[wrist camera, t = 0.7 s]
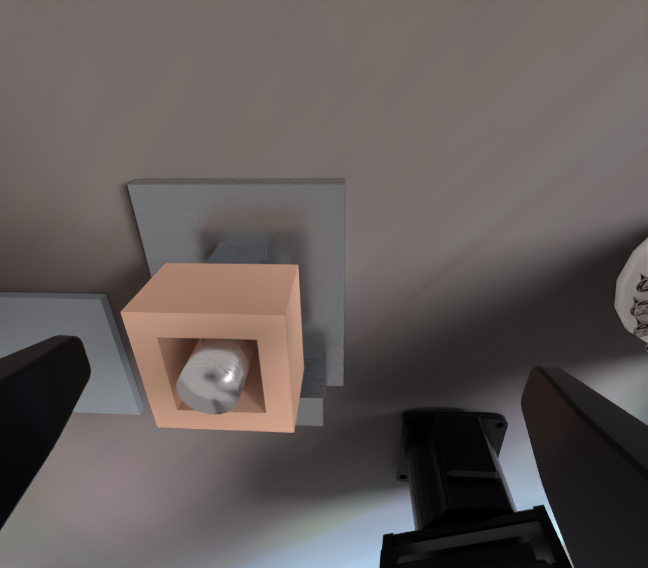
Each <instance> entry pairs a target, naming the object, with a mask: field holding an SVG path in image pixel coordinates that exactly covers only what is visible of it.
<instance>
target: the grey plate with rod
mask: <svg viewBox="0 0 648 568" xmlns="http://www.w3.org/2000/svg"><path fill="white" fill-rule="evenodd" d="M127 186H128V189H129V193H130V197H131V201H132V205H133V209H134V212H135V216H136V220H137V224H138V228H139V232H140V235H141V239H142V243H143V247H144V251H145V254H146V258H147V262H148V266H149V270H150V274H151V277H153V276H154V275H155V274H156V273H157V272H158V271H159V270H160V269H161V267H162V266H163V265H164V264H165V263H207V264H289V265H298V269H299V288H300V306H301V324H302V342H303V360H304V372H303V379H302V385H301V391H300V398H299V404H298V411H297V417H296V423H295V425H305V426H323V423H324V411H325V398H326V386H343V383H344V286H345V179H136V180H135V181H133V182H131V183H129V184H127ZM255 351H258V343H257V340H250V339H209V338H200V340H199V341H198V343H197V345H196V347H195V349H194V350H193V352H192V354H191V356H190V358H189V360H188V361H187V363H186V365H185V367H184V369H183V371H182V372H181V374H180V376H179V378H178V380H177V383H176V389H177V393H178V395H179V397H180V398H181V400H182V401H183V402H184V403H185V404H186V405H187V406H189V407H190V408H192V409H194V410H196V411H198V412H201V413H205V414H212V415H217V414H223V413H226V412H229V411H231V410H232V409H233V408H234V407H235V406H236V405H237V403H238V401H239V398H240V395H241V392H242V389H243V386H244V383H245V380H246V377H247V374H248V371H249V368H250V365H251V362H252V359H253V356H254V353H255Z"/></svg>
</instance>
